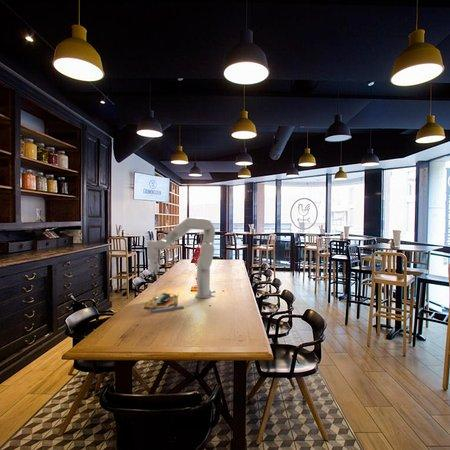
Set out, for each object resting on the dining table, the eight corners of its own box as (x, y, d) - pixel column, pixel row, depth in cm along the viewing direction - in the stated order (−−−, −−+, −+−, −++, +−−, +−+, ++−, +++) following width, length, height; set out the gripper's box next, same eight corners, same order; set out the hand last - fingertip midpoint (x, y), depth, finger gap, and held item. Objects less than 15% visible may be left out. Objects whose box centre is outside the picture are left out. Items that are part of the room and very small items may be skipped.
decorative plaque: (154, 288, 235) (180, 289, 233) (154, 297, 236) (180, 298, 234) (140, 299, 205) (169, 299, 203) (140, 309, 205) (169, 310, 203)
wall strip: (182, 307, 210) (182, 305, 210) (183, 308, 207) (183, 306, 207) (149, 312, 199) (149, 309, 199) (150, 313, 197) (150, 311, 197)
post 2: (177, 306, 211) (177, 294, 211) (179, 308, 208) (179, 295, 208) (172, 307, 210) (172, 294, 209) (174, 308, 206) (174, 296, 206)
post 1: (157, 309, 205) (157, 296, 204) (158, 311, 201) (158, 297, 201) (151, 310, 203) (151, 297, 203) (153, 311, 200) (153, 298, 199)
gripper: (161, 257, 227) (162, 282, 228) (155, 255, 240) (156, 278, 241) (151, 258, 224) (152, 283, 224) (145, 256, 237) (146, 280, 237)
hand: (154, 281), depth 233 cm, fingers closed
